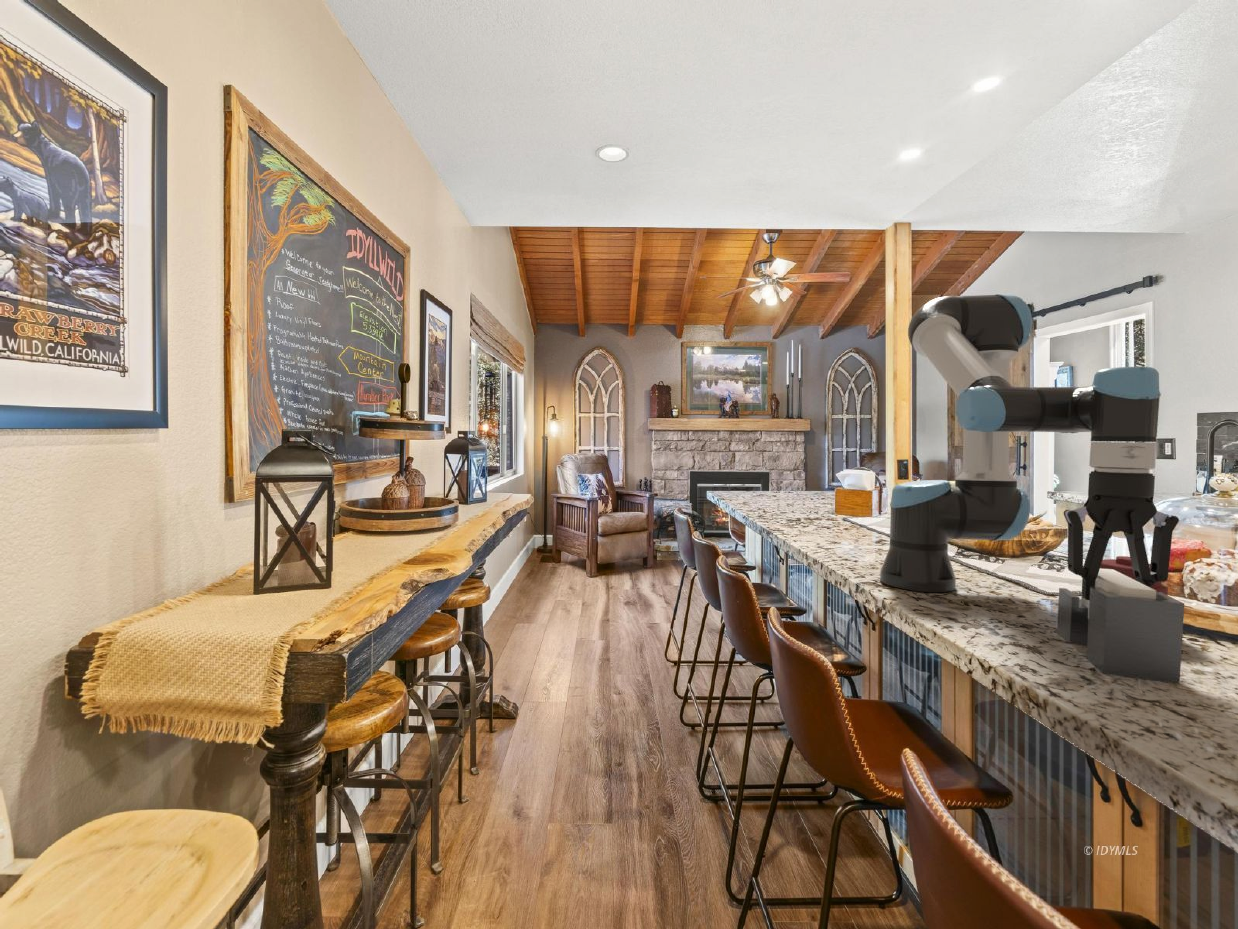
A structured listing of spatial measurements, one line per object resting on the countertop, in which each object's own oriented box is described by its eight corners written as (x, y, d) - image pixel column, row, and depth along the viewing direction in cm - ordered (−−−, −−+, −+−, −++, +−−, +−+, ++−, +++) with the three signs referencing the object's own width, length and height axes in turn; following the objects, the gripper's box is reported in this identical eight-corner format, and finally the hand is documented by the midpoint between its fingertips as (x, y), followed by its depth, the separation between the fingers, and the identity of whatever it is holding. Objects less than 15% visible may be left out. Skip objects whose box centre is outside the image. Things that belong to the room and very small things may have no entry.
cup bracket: (1086, 658, 87) (1090, 586, 86) (1157, 667, 84) (1161, 592, 83) (1103, 673, 81) (1107, 596, 81) (1179, 683, 78) (1184, 603, 78)
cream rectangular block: (1081, 603, 95) (1082, 567, 95) (1111, 606, 94) (1113, 569, 94) (1118, 629, 82) (1120, 587, 82) (1153, 633, 81) (1156, 590, 80)
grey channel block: (1057, 631, 99) (1059, 587, 99) (1118, 638, 96) (1120, 593, 96) (1069, 643, 93) (1072, 596, 93) (1134, 650, 90) (1137, 602, 90)
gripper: (1061, 470, 87) (1054, 623, 88) (1209, 473, 81) (1200, 638, 82) (1045, 467, 94) (1038, 610, 95) (1180, 471, 88) (1172, 623, 89)
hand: (1113, 623), depth 88 cm, fingers closed on cream rectangular block, 4 cm apart
